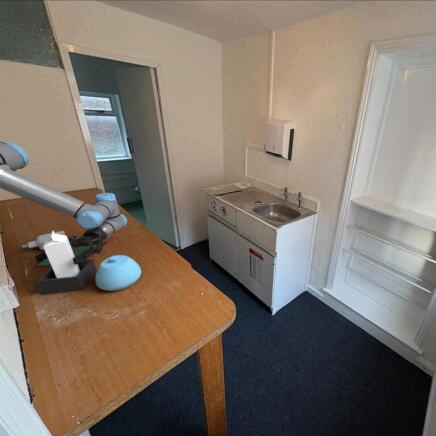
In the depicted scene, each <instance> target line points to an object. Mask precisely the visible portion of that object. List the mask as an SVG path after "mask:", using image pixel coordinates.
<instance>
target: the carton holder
mask: <svg viewBox="0 0 436 436" xmlns="http://www.w3.org/2000/svg"><path fill="white" fill-rule="evenodd" d="M78 266H79V269H80V272H79V273H78V275H77V276H74V277H65V278H57V277H56V275H55V273H54V270H53V268H52V267H51V268H50V269H49V270H48V271H47V272H46V273H44V274H43V276H41V277H40V278H39V279H38V280H37V282H36V283H37V284H38V286H39V288H40V290H41V292H42V294H43V295H48V294H58V293H67V292H75V291H83V289H84V288H85V287H86V285H87V284H88V283H89V282H90V280H91V279H92V278H93V277H94V275H96V273H97V271H98V269H97V266H96V264H95V261H94V259H91V258H89V259H84V260H83V261H81V262H80V263H78Z"/></svg>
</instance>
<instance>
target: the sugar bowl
mask: <svg viewBox="0 0 436 436" xmlns="http://www.w3.org/2000/svg"><path fill="white" fill-rule="evenodd" d="M141 276H142V269H141V267H140V265H139V264H138V262H137V261H136V260H135V259H133V258H131V257H129V256H128V255H125V254H118V255H117V254H116V255H115V254H114V255H111V256H110V257H107V258H106V259H104V260H103V261H101V263H100V264H99V266H98V268H97V271H96V273H95V284H96V286H97V288H99V289H100V290H103V291H107V292H116V291H117V292H118V291H121V290H124V289H127V288H129V287H131V286H132V285H134V284H135V283H136V282H137V281H138V280H139V279H140V277H141Z"/></svg>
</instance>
